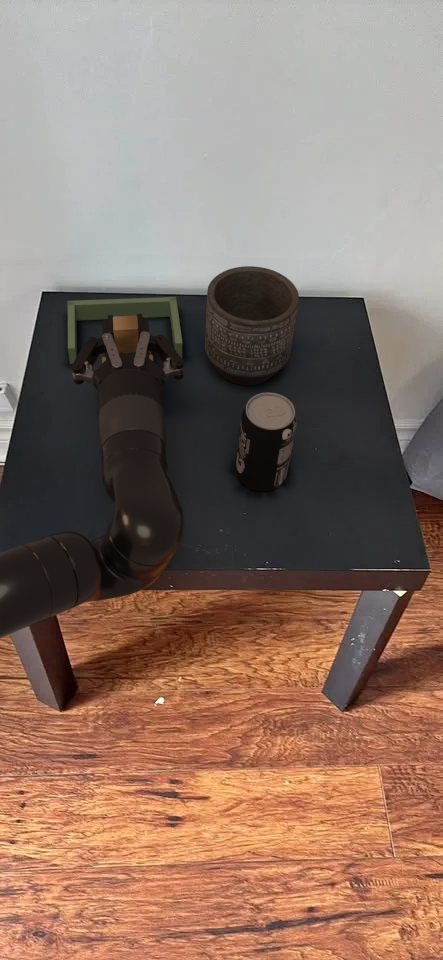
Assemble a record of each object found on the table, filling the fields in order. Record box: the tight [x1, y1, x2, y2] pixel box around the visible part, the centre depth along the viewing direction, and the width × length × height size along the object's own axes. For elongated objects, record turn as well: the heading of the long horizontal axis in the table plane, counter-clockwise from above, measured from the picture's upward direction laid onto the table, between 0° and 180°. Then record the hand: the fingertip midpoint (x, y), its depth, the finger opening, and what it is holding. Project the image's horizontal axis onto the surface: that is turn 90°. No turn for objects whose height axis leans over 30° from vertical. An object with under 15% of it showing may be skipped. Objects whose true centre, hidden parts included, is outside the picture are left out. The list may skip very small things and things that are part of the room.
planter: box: [204, 265, 300, 386], centre depth 103 cm, size 12×12×13 cm
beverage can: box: [235, 392, 298, 492], centre depth 91 cm, size 7×7×12 cm
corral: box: [67, 296, 183, 365], centre depth 109 cm, size 16×10×3 cm, turn 97°
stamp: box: [101, 316, 154, 364], centre depth 98 cm, size 7×8×14 cm
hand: (125, 319), depth 95 cm, fingers closed on stamp, 3 cm apart
